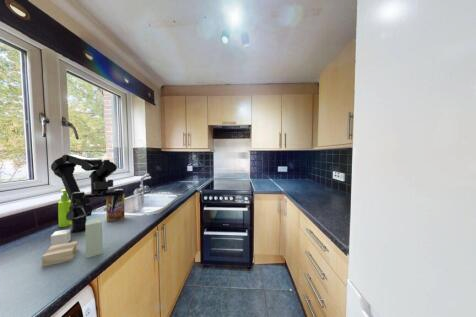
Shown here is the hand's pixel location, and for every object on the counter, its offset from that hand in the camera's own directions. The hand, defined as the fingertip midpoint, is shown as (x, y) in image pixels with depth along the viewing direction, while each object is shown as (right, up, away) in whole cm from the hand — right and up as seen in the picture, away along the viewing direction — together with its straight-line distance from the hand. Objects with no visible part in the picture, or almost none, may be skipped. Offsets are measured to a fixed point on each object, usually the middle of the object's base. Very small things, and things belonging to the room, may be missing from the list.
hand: (100, 213), depth 79 cm
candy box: (-13, -13, +29) cm, 34 cm away
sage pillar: (+3, -14, -6) cm, 16 cm away
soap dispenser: (-34, -13, +19) cm, 41 cm away
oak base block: (-8, -14, -9) cm, 19 cm away
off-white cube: (-18, -14, +1) cm, 22 cm away
